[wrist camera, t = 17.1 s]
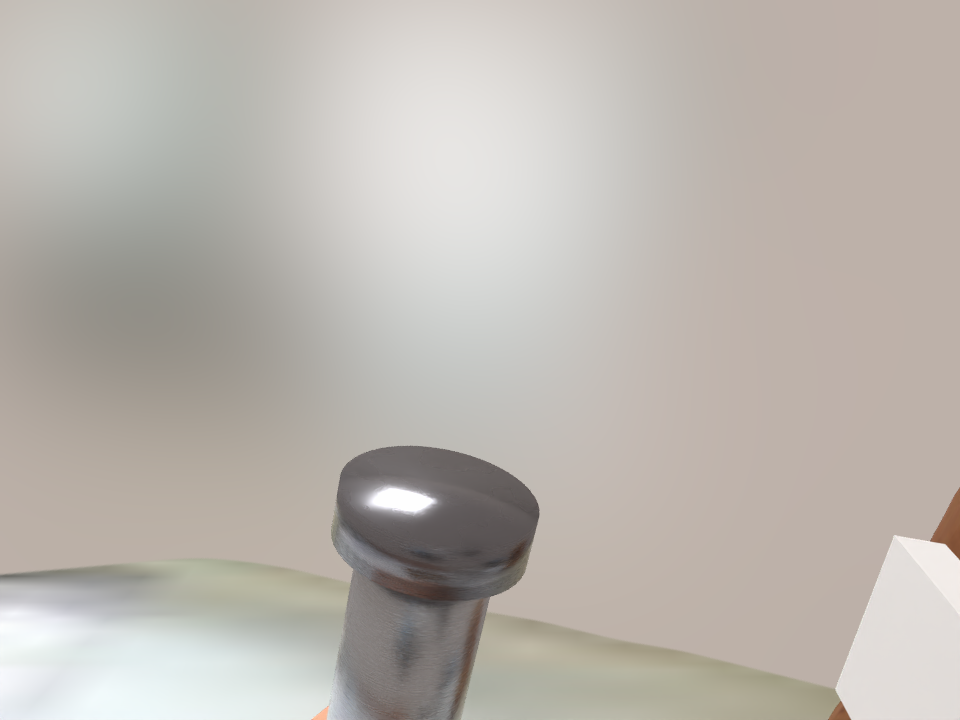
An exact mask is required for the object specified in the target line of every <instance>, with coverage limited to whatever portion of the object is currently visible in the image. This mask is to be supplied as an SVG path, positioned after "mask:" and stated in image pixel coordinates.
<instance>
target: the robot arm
mask: <svg viewBox="0 0 960 720" xmlns="http://www.w3.org/2000/svg"><path fill="white" fill-rule="evenodd" d="M835 690H836V692H837V694H838V696H839V697H840V699H841V701H842V703H843V705H844V707H845V709H846V711H847V713H848V715H849V716H850V718H851V720H960V560H959V559H958V558H957V557H956V556H955V554H954V553H953V552H952V551H951V550H950V549H949V548H948V547H947V546H946V545H945V544H941V543H935V542H929V541H924V540H918V539H912V538H906V537H900V536H894V537H893V540H892V543H891V545H890V548H889V550H888V553H887V556H886V558H885V561H884V563H883V566H882V569H881V571H880V574H879V576H878V579H877V582H876V584H875V587H874V590H873V592H872V595H871V597H870V600H869V603H868V605H867V608H866V610H865V613H864V616H863V618H862V621H861V623H860V626H859V629H858V631H857V634H856V637H855V639H854V642H853V644H852V647H851V650H850V652H849V655H848V657H847V660H846V663H845V665H844V668H843V670H842V673H841V676H840V678H839V681H838V684H837V686H836V689H835Z"/></svg>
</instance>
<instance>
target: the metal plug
mask: <svg viewBox="0 0 960 720" xmlns="http://www.w3.org/2000/svg"><path fill="white" fill-rule="evenodd" d="M538 519H539V507H538V503H537V501H536V499H535V497H534V495H533V494H532V493H531V491H530V490H529V489H528V488H527V487H526V486H525V485H524V484H523V483H522V482H521V481H519V480H518V479H517V478H515V477H514V476H513V475H511V474H509V473H508V472H506V471H504V470H503V469H501V468H499V467H497V466H495V465H492V464H491V463H488V462H486V461H483V460H481V459H478V458H475V457H472V456H469V455H466V454H462V453H459V452H455V451H450V450H445V449H439V448H432V447H422V446H396V447H386V448H380V449H376V450H372V451H369V452H366V453H364V454H361V455H359V456H357V457H355V458H354V459H352V460H351V461H350V462H348V463H347V464H346V466H345V467H344V468H343V470H342V472H341V475H340V481H339V487H338V493H337V499H336V505H335V511H334V517H333V523H332V529H331V536H332V540H333V544H334V546H335V548H336V550H337V552H338V553H339V554H340V556H341V557H342V558H343V560H344V561H345V562H347V563H348V564H349V565H350V566H351V567H352V568H353V574H352V580H351V585H350V591H349V596H348V602H347V608H346V613H345V619H344V624H343V630H342V635H341V641H340V647H339V652H338V658H337V663H336V669H335V675H334V680H333V686H332V691H331V697H330V703H329V708H328V714H327V719H326V720H461V716H462V712H463V708H464V703H465V699H466V695H467V691H468V687H469V683H470V678H471V674H472V670H473V666H474V662H475V657H476V653H477V649H478V645H479V641H480V636H481V632H482V628H483V624H484V620H485V616H486V611H487V607H488V603H489V599H490V597H491V596H494V595H497V594H499V593H502V592H504V591H506V590H508V589H509V588H511V587H512V586H514V585H515V584H516V583H517V582H518V581H519V580H520V579H521V578H522V576H523V574H524V573H525V570H526V566H527V563H528V559H529V554H530V551H531V547H532V543H533V539H534V535H535V531H536V527H537V522H538Z"/></svg>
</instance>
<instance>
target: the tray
mask: <svg viewBox="0 0 960 720" xmlns="http://www.w3.org/2000/svg"><path fill="white" fill-rule="evenodd" d="M328 708H329V706H328V707H326V708H325V709H324V710H323V711H321V712H320V713H319V714H318V715H316V716H315V717H314V718H313V719H312V720H326V719H327V714H328Z"/></svg>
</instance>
